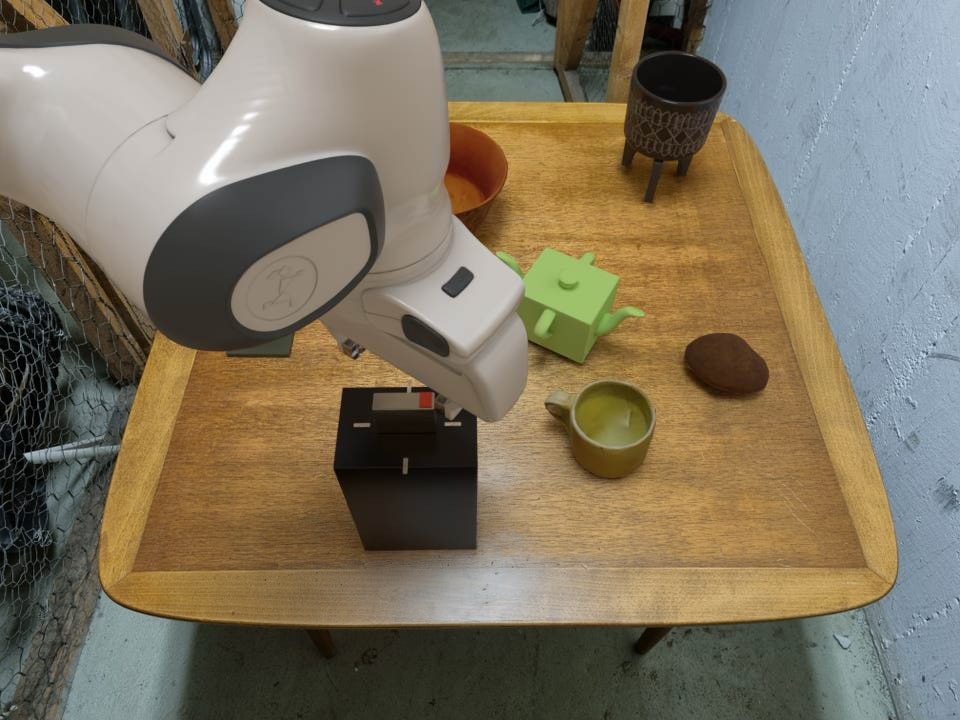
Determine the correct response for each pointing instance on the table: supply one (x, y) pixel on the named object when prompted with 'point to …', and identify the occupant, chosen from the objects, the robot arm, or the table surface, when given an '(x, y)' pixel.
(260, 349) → the housing
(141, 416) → the table surface
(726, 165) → the table surface
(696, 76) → the planter
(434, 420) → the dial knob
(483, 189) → the bowl
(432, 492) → the black lever box
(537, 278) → the teapot
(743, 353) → the potato
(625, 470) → the mug
